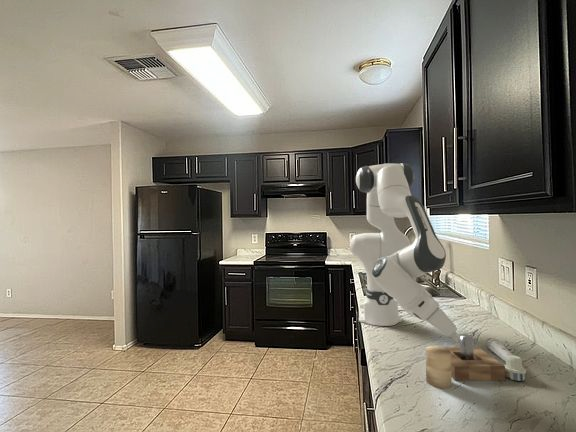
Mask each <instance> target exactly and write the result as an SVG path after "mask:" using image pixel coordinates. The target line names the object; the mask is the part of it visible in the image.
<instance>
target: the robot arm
mask: <svg viewBox="0 0 576 432" xmlns="http://www.w3.org/2000/svg"><path fill="white" fill-rule="evenodd" d="M414 179H415V172H414V169H413V167H412V166H411V164H409V163H403V162H402V163H401V162H400V163H382V164H375V165H369V166H368V165H365V166H361V167H359V169H358V170H357V172H356V175H355V184H356V187H357V188H358V190H359V191H360V192H361V193H366V220H367V222H368V224H370V225H371V226H372V227H375V228H377V229H378V230H380V231H381V232H364V233H358V234H354V235H353V236H352V238H351V239H350V242H349V249H350V251H351V253H352V255H353V256H355V257H356V258H357V259H358V260H359V261H360V262H361V263H362V265H363V266H364V267H363V268H364V269H365V274H366V285H367V286H366V287H367V288H366V291H365V299H364V301H363V303H360V304H359V309H360V310H358V321H359V322H360V323H365V324H368V325H373V326H378V327H379V326H380V327H389V326H390V327H391V326H394V325H397V324H398V323H401V322H403V318H401V317H400V316H399V307H400V308H401V309H402V310H404V311H405V313H407V314H408V315H409V316H410V317H414V318H417V319H419V320H421V321H423V322H426V323H429V325H431V326H432V327H434V328H435V329H436V330H437V331H439V332H440V333H441V334H443V335H444V336H445V337H447V338H451V339H452V340H453V341H454V342H456V343H457V342H460V334H459V335H458V334H457V330H458V327H457V325H456V324H455V323H454V321H452V320H451V318H449V316H448V315H447V314H446V313H445V312H444V311H443V309H442V308H440V304H439V303H438V301H437V300H435V299H434V298H433V295H432V294H431V293H430V292H428V290H426V288H425V287H423V286H422V285H421V284H420V283H419V282H417V279H418V277H421V276H423V275H426V274H429V273H434V272H436V271H439V270H442V269H443V267H444V266H445V262H446V257H447V255H446V254H447V253H446V250H445V248H444V245H443V244H442V242H441V241H440V240H439V238H438V236H437V235H436V232H435V229H434V228H433V225H432V223H431V220H430V219H429V218H430V217H429V215H428V214H427V210H426V209H425V206H424V205H423V203H422V202H421V200H420V199H419V198H418V197H417V196H415V195H412V193H411V190H410V189H411V187H412V186H413V184H414V181H415V180H414ZM395 218H397V219H398V218H400V219H402V218H408V220H409V223H410V225H411V227H412V230H413V232H414V236H415V239H414V241H413V243H411V241H410V239H409V238H408V236H407V235H406V234H404V233H403V232H402V231H400V229H399V228H398V227H397V224H396V222H395Z"/></svg>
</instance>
